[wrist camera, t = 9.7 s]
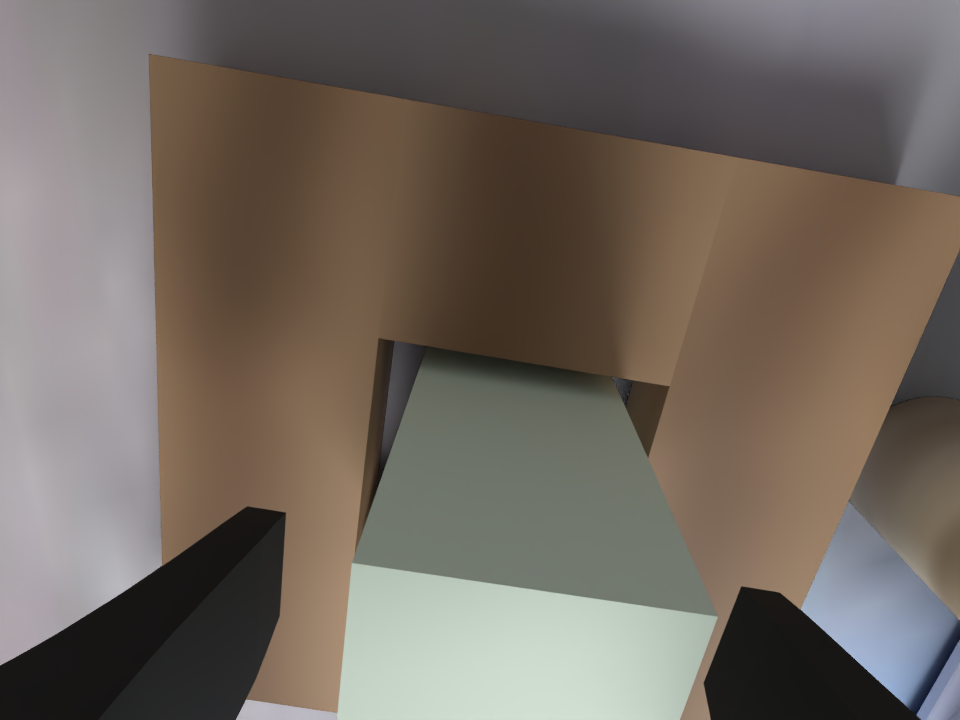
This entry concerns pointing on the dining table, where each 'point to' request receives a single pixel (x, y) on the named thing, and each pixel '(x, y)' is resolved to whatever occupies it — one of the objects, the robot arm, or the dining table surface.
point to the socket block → (511, 321)
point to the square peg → (520, 558)
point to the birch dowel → (918, 491)
